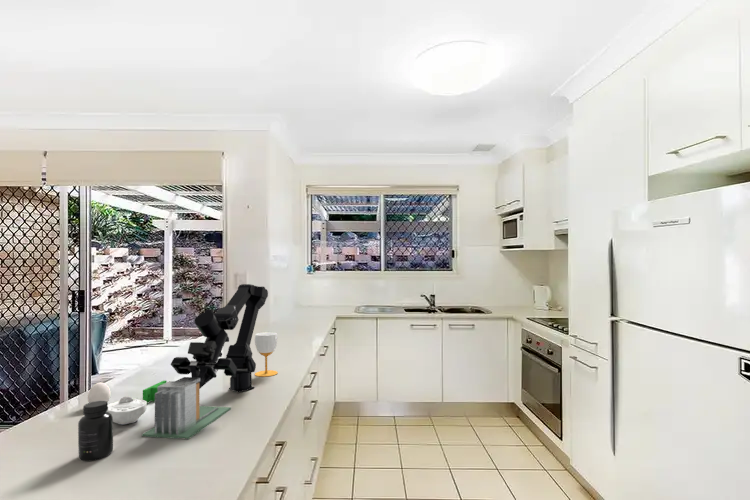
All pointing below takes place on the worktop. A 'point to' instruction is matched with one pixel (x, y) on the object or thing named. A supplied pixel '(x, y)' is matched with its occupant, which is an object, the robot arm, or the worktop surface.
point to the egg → (99, 393)
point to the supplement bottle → (95, 432)
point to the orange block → (197, 401)
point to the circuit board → (198, 427)
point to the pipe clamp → (151, 392)
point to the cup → (266, 350)
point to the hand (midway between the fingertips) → (192, 392)
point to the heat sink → (177, 406)
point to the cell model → (127, 410)
